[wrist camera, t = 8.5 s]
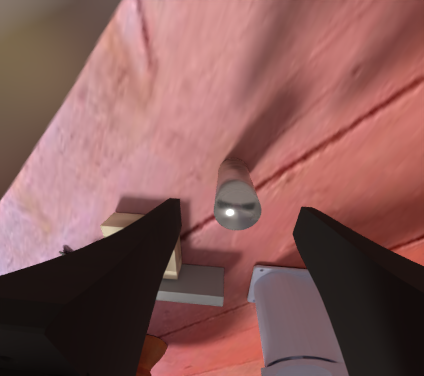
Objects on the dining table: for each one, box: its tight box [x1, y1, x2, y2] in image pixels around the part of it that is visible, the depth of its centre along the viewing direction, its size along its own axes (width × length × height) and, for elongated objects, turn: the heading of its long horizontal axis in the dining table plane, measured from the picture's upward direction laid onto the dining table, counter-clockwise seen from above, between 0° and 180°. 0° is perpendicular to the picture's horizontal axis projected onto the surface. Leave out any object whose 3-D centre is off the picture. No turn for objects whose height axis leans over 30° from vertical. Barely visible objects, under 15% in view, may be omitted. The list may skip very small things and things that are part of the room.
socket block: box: [100, 213, 182, 279], centre depth 20 cm, size 8×8×2 cm
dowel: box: [214, 158, 261, 230], centre depth 14 cm, size 3×3×7 cm
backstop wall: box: [156, 264, 224, 307], centre depth 22 cm, size 20×2×4 cm, turn 88°
